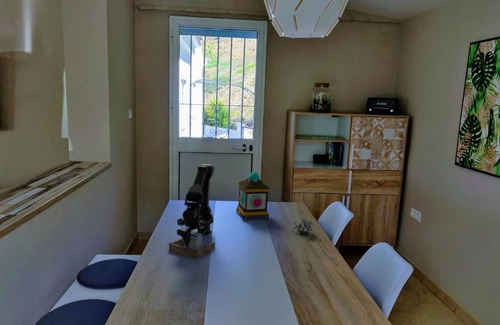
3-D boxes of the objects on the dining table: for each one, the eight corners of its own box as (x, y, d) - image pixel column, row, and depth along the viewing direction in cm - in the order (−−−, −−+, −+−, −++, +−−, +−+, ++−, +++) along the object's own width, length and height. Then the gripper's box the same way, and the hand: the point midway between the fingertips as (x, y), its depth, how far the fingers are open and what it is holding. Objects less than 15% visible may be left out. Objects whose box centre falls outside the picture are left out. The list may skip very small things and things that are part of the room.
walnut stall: (189, 240, 195) (190, 234, 195) (214, 248, 186) (215, 242, 186) (169, 249, 182) (169, 243, 182) (194, 259, 173) (194, 252, 173)
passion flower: (308, 243, 214) (314, 232, 206) (290, 238, 214) (296, 227, 205) (309, 227, 222) (315, 216, 214) (292, 223, 222) (297, 212, 213)
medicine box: (184, 248, 185) (184, 232, 183) (189, 245, 189) (189, 229, 187) (196, 252, 181) (197, 236, 180) (202, 249, 185) (202, 233, 184)
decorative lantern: (233, 211, 247) (235, 168, 242) (261, 210, 253) (263, 168, 248) (241, 221, 229) (244, 175, 223) (271, 220, 234) (274, 174, 229)
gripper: (194, 207, 194) (193, 234, 196) (168, 215, 178) (168, 245, 181) (210, 211, 188) (209, 240, 191) (185, 221, 172) (185, 251, 175)
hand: (193, 244), depth 184 cm, fingers open, 9 cm apart
